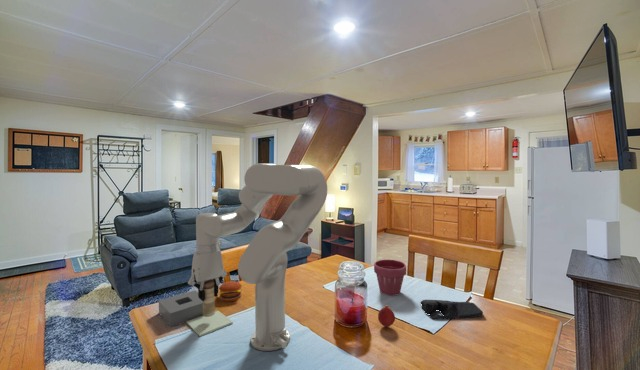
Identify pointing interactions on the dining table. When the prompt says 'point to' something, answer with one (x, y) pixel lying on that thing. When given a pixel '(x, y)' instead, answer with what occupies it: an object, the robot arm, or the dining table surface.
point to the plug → (209, 298)
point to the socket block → (181, 308)
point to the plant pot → (390, 275)
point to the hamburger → (230, 291)
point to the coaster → (209, 323)
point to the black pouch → (450, 309)
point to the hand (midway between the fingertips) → (208, 297)
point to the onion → (386, 316)
